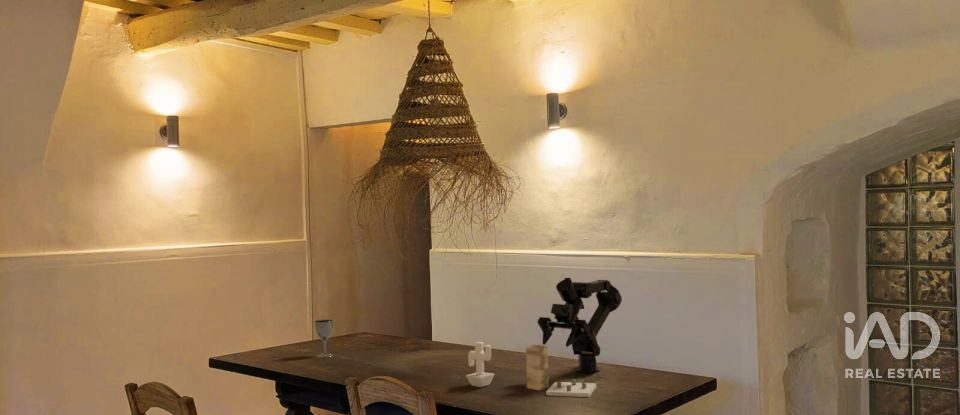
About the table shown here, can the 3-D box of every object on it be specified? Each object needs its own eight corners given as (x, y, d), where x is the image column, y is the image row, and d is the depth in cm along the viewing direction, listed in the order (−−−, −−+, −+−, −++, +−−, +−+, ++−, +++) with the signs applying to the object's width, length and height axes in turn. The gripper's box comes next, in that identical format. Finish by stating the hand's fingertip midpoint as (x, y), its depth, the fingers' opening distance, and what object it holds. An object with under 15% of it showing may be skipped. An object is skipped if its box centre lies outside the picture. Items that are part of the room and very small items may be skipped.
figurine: (476, 381, 285) (475, 339, 285) (497, 384, 279) (496, 341, 279) (463, 385, 279) (462, 342, 279) (484, 388, 273) (482, 344, 273)
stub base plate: (555, 385, 275) (555, 377, 275) (596, 386, 271) (596, 378, 271) (546, 395, 262) (546, 386, 262) (589, 397, 257) (588, 388, 257)
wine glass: (325, 353, 349) (324, 318, 349) (338, 354, 344) (337, 320, 344) (311, 356, 343) (310, 321, 342) (324, 358, 338) (323, 322, 338)
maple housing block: (536, 385, 276) (535, 344, 276) (548, 387, 273) (547, 346, 273) (527, 388, 272) (525, 347, 272) (539, 390, 269) (537, 348, 269)
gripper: (539, 294, 287) (523, 328, 278) (586, 296, 276) (570, 331, 267) (551, 314, 293) (535, 348, 284) (597, 317, 282) (581, 352, 273)
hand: (554, 344), depth 277 cm, fingers open, 9 cm apart
